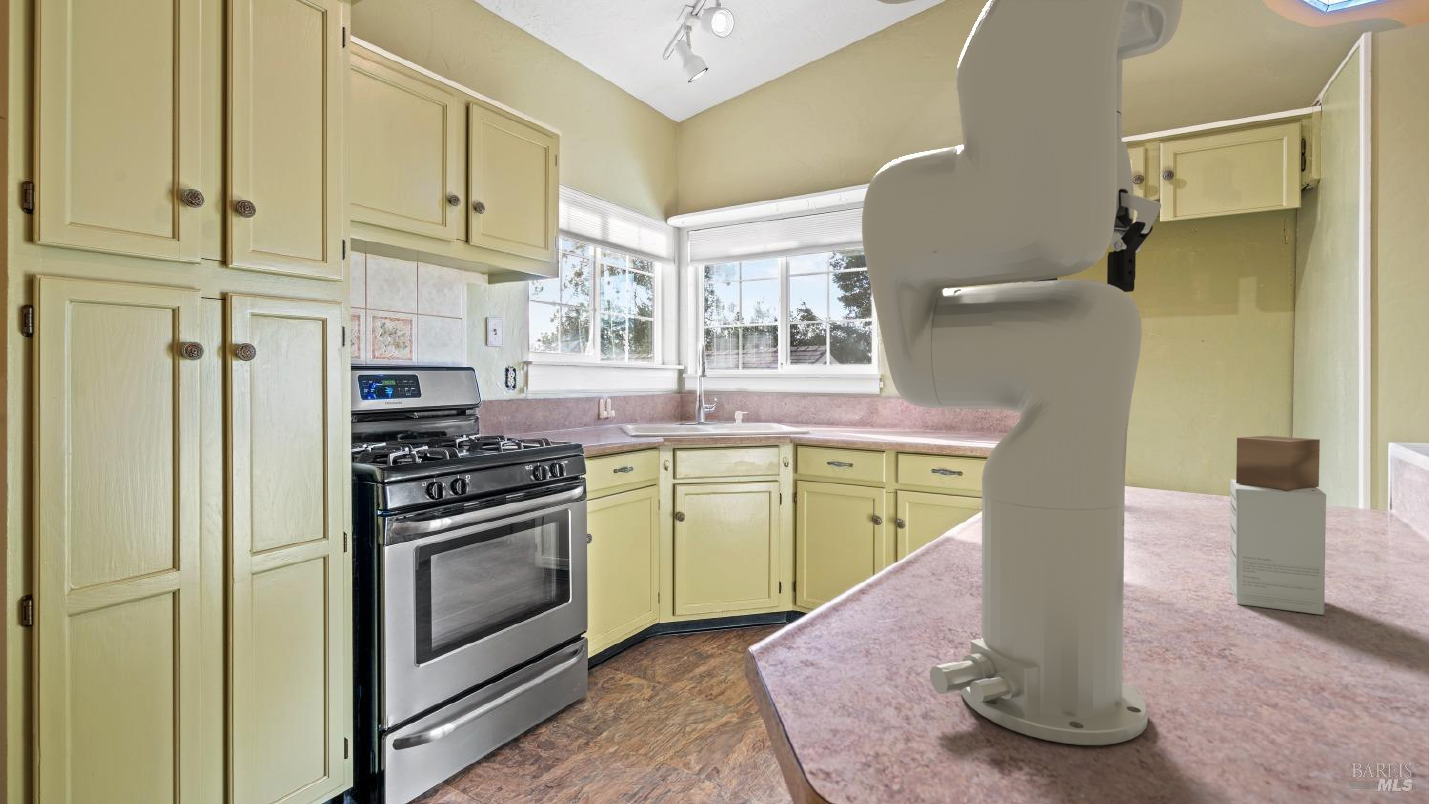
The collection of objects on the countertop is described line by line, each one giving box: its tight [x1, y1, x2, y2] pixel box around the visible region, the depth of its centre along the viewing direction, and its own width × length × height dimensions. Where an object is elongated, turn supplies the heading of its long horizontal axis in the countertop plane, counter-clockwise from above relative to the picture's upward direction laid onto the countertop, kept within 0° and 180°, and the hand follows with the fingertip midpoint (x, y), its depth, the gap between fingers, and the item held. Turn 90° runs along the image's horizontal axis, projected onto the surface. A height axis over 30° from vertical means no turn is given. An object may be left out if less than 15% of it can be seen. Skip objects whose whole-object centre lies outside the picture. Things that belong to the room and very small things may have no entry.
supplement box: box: [1228, 478, 1327, 616], centre depth 74 cm, size 7×7×13 cm
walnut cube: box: [1235, 435, 1321, 490], centre depth 73 cm, size 5×5×5 cm
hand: (1080, 296), depth 76 cm, fingers open, 9 cm apart
